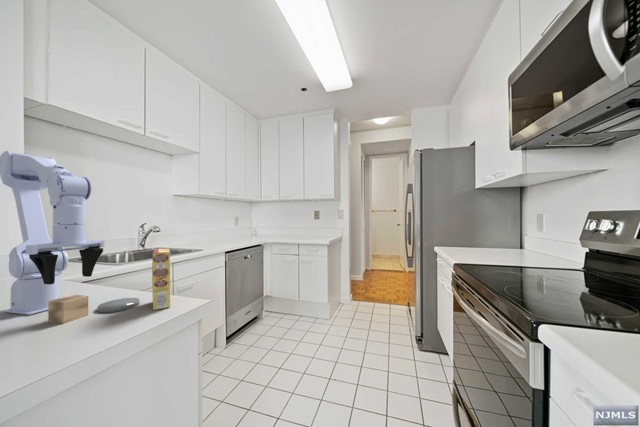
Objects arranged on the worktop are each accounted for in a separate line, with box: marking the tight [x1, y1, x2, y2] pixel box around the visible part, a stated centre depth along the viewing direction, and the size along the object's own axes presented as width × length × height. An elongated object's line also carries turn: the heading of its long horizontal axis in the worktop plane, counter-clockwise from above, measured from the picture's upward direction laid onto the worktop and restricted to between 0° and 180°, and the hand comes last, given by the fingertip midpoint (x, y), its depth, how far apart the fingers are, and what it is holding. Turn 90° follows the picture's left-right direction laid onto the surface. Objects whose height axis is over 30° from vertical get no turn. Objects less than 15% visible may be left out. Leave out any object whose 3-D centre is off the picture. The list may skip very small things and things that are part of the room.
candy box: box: [151, 248, 171, 311], centre depth 70 cm, size 9×4×15 cm, turn 33°
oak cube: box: [47, 294, 89, 325], centre depth 61 cm, size 5×5×5 cm
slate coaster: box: [96, 297, 140, 314], centre depth 68 cm, size 9×9×1 cm
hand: (69, 279), depth 61 cm, fingers open, 7 cm apart
